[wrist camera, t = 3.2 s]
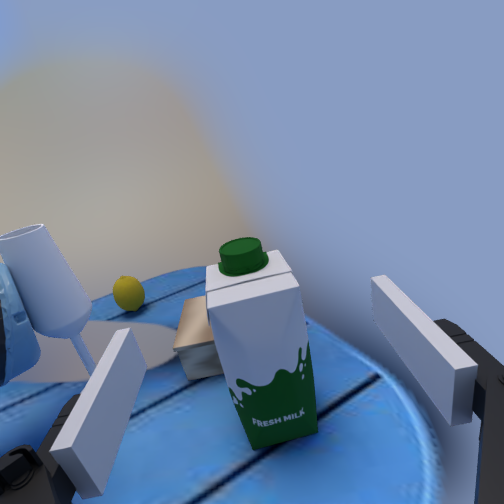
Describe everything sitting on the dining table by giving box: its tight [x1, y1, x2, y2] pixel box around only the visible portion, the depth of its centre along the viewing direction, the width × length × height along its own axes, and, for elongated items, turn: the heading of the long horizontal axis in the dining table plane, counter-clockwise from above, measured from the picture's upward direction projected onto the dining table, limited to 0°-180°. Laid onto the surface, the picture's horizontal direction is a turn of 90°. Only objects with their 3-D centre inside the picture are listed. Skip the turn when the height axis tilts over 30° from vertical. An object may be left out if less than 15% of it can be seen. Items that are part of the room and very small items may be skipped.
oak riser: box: [173, 296, 224, 381], centre depth 45 cm, size 12×12×6 cm
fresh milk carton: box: [206, 237, 318, 450], centre depth 31 cm, size 9×9×20 cm
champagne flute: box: [0, 224, 97, 394], centre depth 38 cm, size 7×7×24 cm
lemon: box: [113, 276, 145, 311], centre depth 60 cm, size 6×6×8 cm
